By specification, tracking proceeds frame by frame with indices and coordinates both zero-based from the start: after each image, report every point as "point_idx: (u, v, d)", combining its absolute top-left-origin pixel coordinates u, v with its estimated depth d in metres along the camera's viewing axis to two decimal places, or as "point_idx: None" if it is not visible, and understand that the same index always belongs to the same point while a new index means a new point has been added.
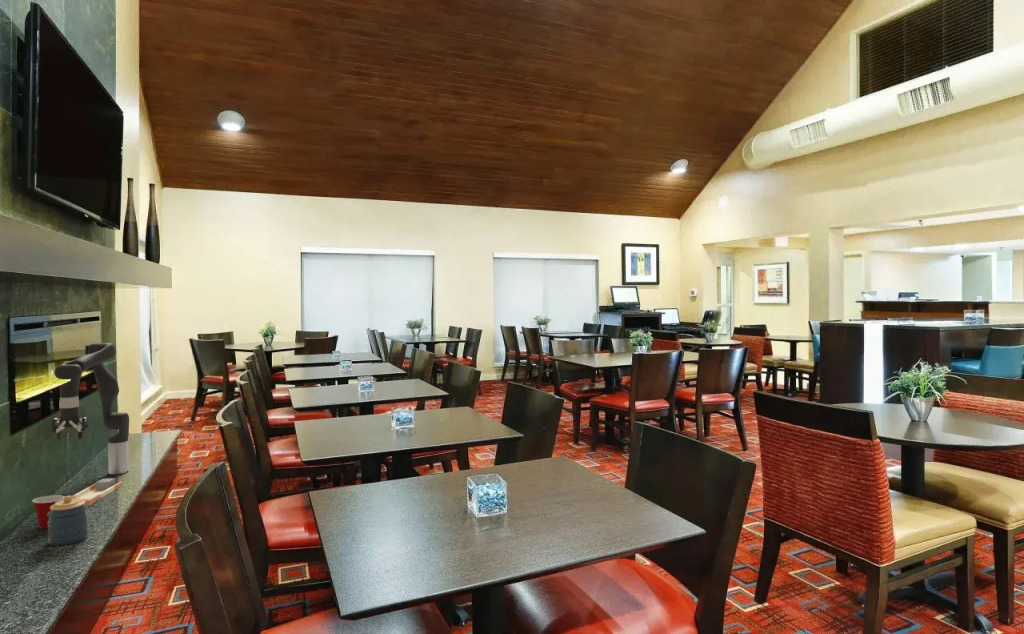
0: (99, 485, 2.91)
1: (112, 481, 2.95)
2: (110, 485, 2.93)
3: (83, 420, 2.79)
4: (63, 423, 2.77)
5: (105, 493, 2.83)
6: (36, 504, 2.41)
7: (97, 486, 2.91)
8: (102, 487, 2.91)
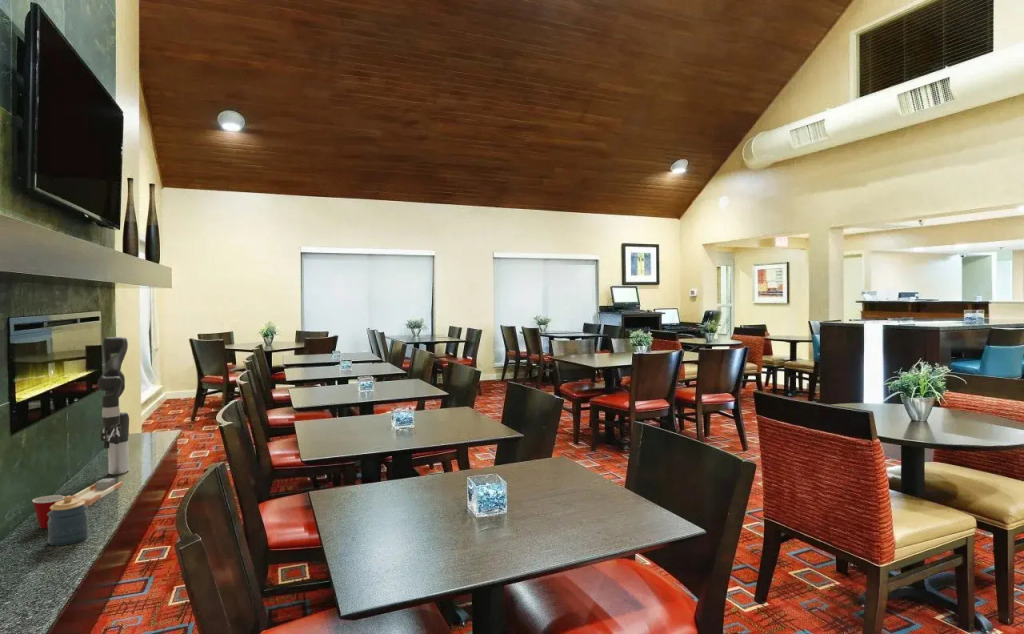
0: (99, 485, 2.91)
1: (112, 481, 2.95)
2: (110, 485, 2.93)
3: (120, 425, 3.07)
4: (113, 431, 2.99)
5: (105, 493, 2.83)
6: (36, 504, 2.41)
7: (97, 486, 2.91)
8: (102, 487, 2.91)
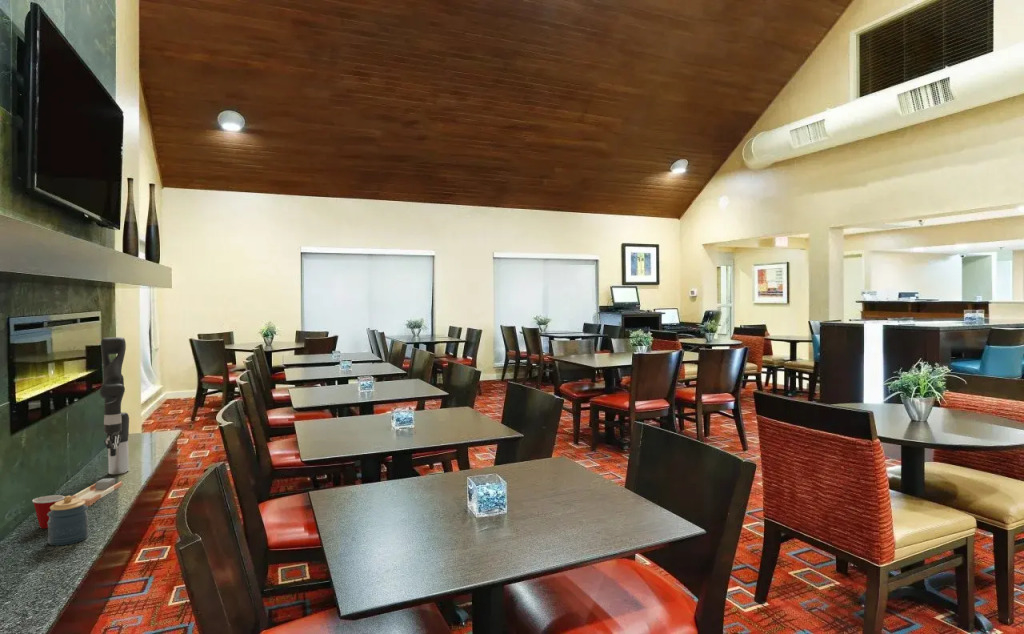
0: (99, 485, 2.91)
1: (112, 481, 2.95)
2: (110, 485, 2.93)
3: (121, 437, 3.07)
4: (115, 438, 3.01)
5: (105, 493, 2.83)
6: (36, 504, 2.41)
7: (97, 486, 2.91)
8: (102, 487, 2.91)
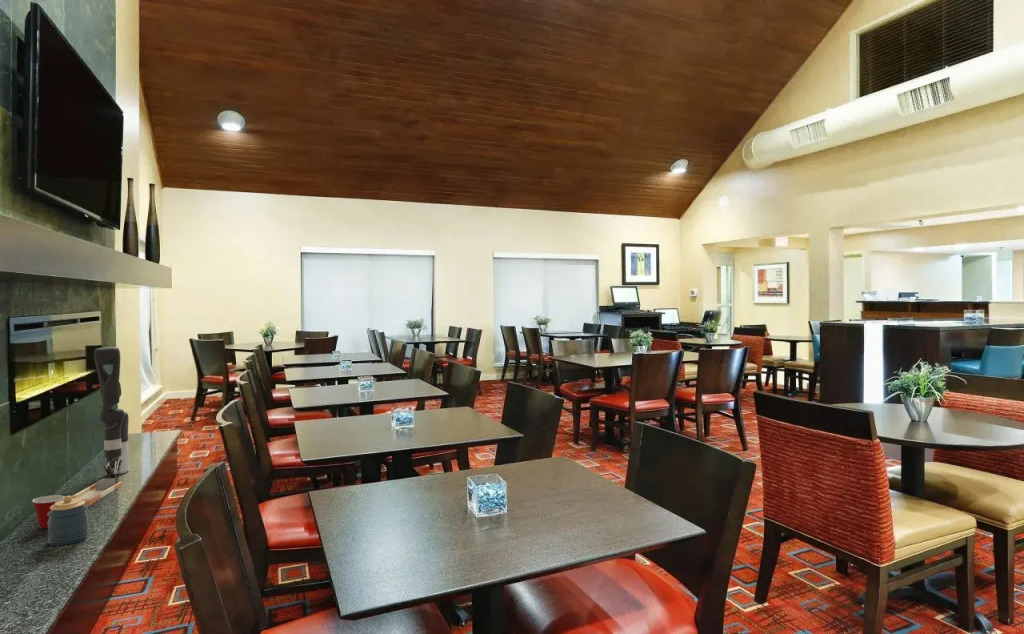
0: (99, 485, 2.91)
1: (112, 481, 2.95)
2: (110, 485, 2.93)
3: (121, 462, 3.07)
4: (115, 463, 3.01)
5: (105, 493, 2.83)
6: (36, 504, 2.41)
7: (97, 486, 2.91)
8: (102, 487, 2.91)
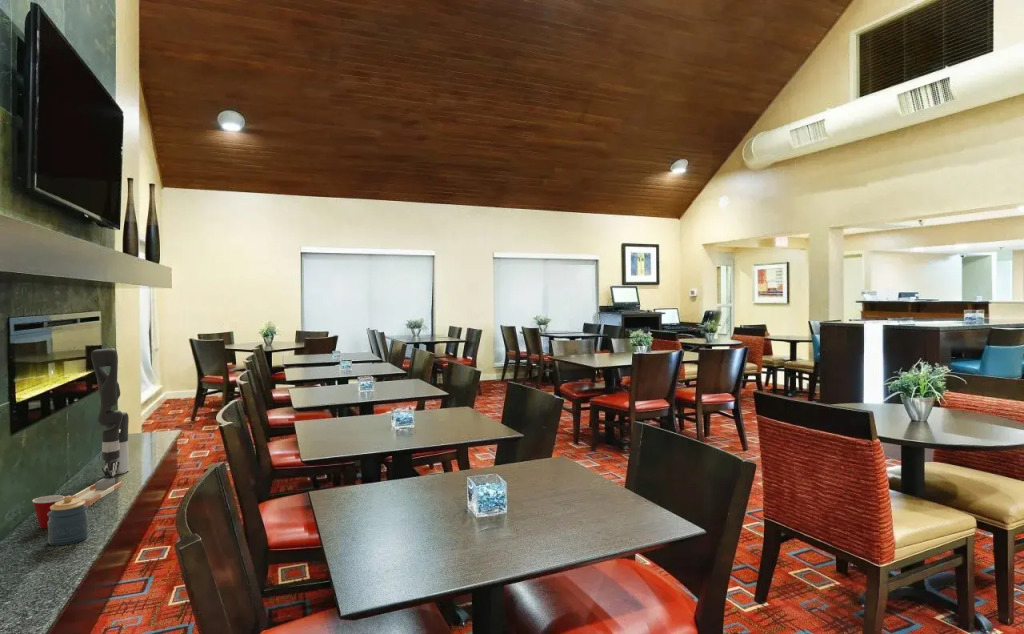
0: (99, 485, 2.91)
1: (112, 481, 2.95)
2: (110, 485, 2.93)
3: (119, 464, 3.05)
4: (113, 465, 2.98)
5: (105, 493, 2.83)
6: (36, 504, 2.41)
7: (97, 486, 2.91)
8: (102, 487, 2.91)
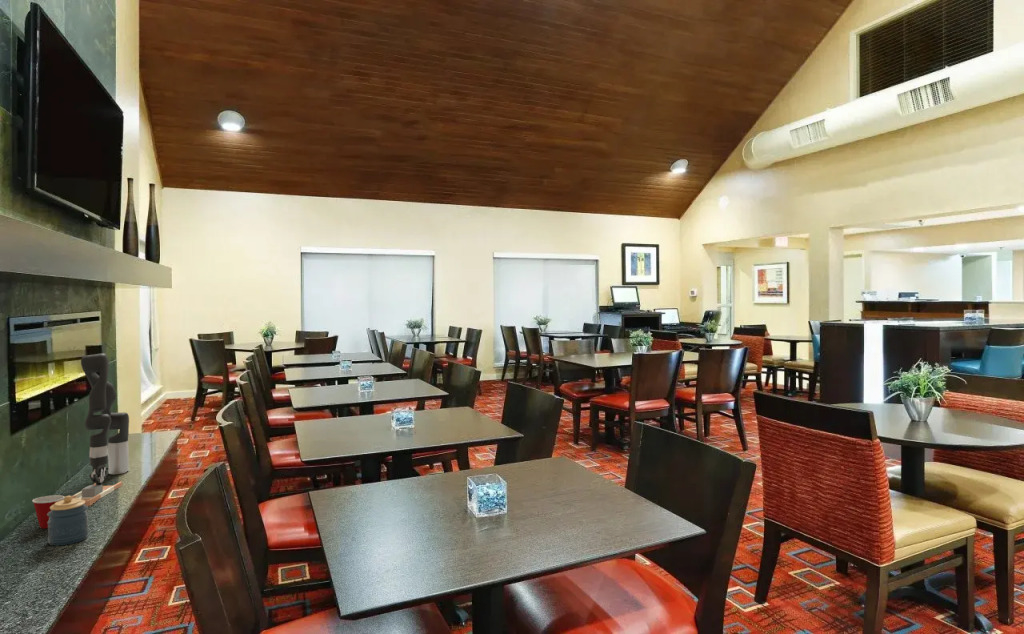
0: (86, 492, 2.80)
1: (99, 488, 2.84)
2: (97, 492, 2.82)
3: (107, 470, 2.94)
4: (101, 471, 2.88)
5: (105, 493, 2.83)
6: (36, 504, 2.41)
7: (83, 493, 2.80)
8: (88, 494, 2.81)
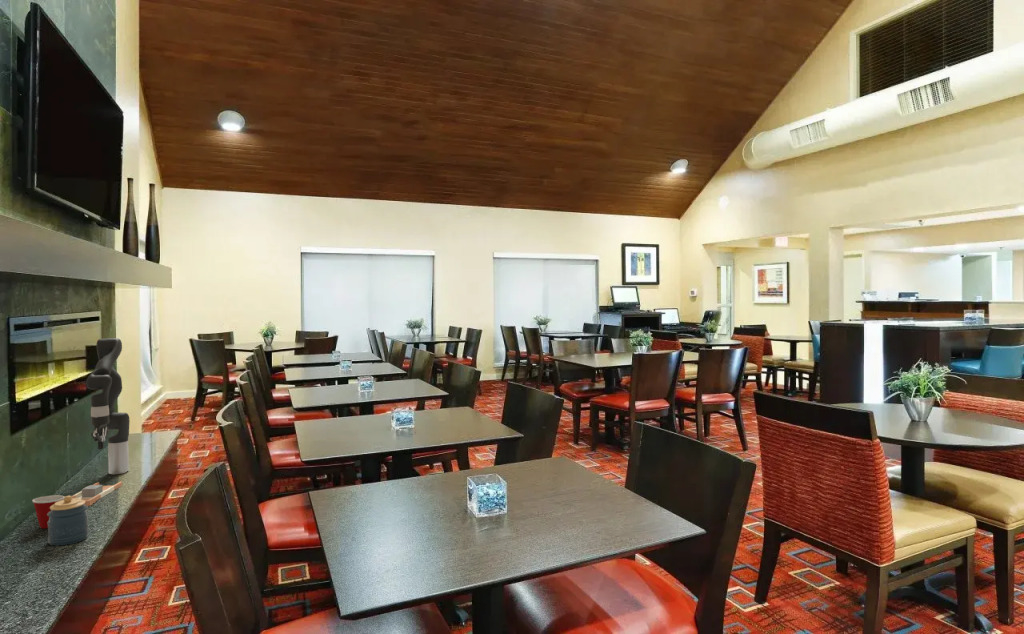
0: (86, 492, 2.80)
1: (99, 488, 2.84)
2: (97, 492, 2.82)
3: (108, 430, 2.99)
4: (103, 431, 2.92)
5: (105, 493, 2.83)
6: (36, 504, 2.41)
7: (83, 493, 2.80)
8: (88, 494, 2.81)
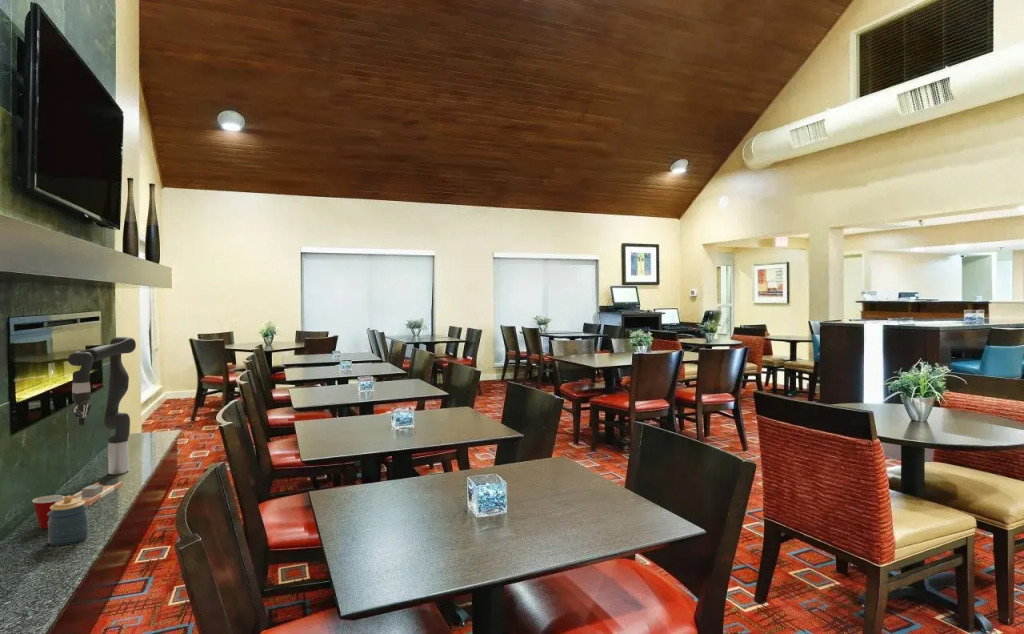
0: (86, 492, 2.80)
1: (99, 488, 2.84)
2: (97, 492, 2.82)
3: (90, 407, 3.02)
4: (84, 407, 2.96)
5: (105, 493, 2.83)
6: (36, 504, 2.41)
7: (83, 493, 2.80)
8: (88, 494, 2.81)
